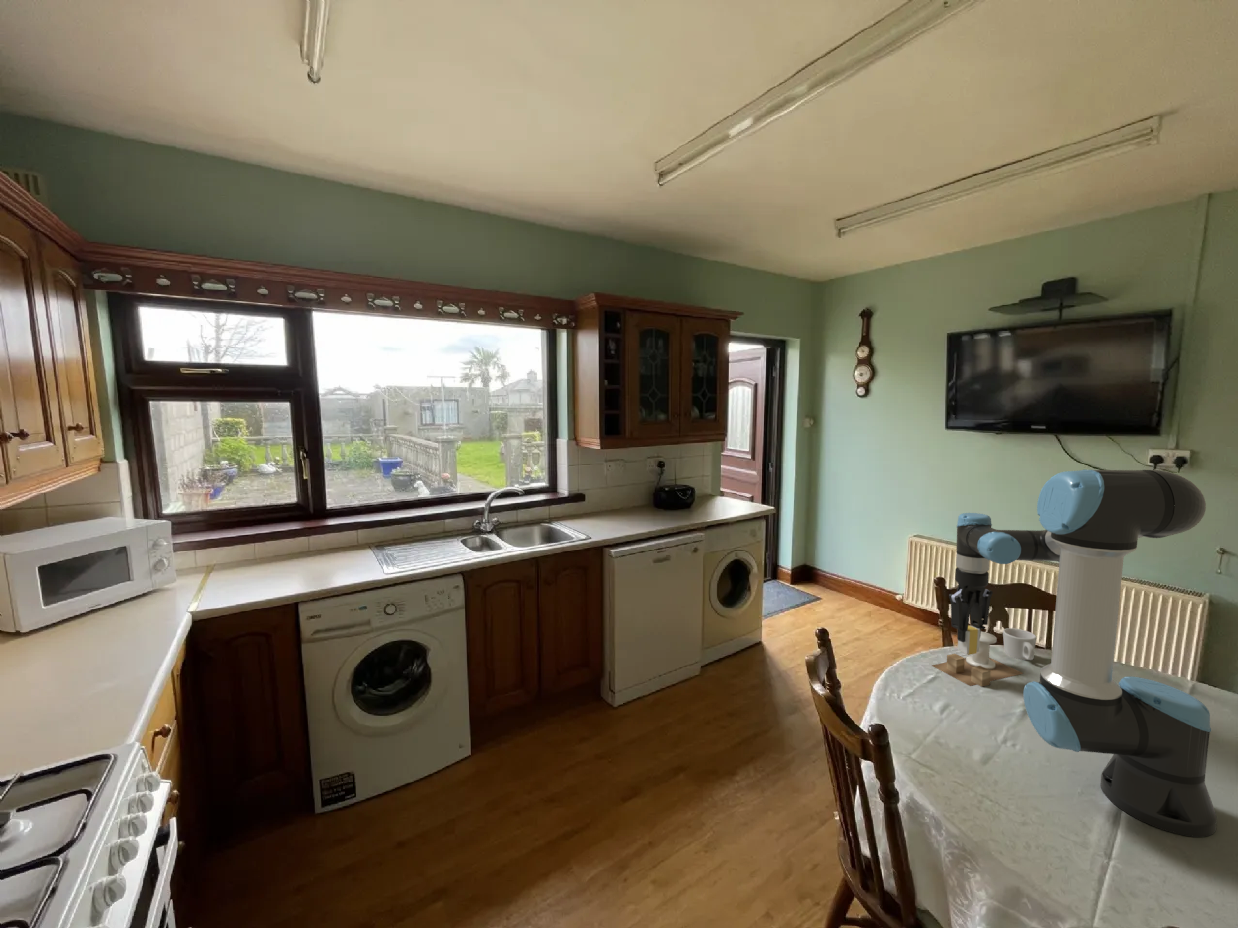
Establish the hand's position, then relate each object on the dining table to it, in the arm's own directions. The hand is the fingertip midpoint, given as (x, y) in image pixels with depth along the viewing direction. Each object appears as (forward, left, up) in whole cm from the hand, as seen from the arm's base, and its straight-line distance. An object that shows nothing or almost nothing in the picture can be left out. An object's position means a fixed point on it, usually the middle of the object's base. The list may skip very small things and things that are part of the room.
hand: (968, 650), depth 141 cm
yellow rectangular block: (0, 0, 0) cm, 1 cm away
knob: (+4, -10, -7) cm, 13 cm away
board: (+2, -6, -9) cm, 11 cm away
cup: (+3, -25, -9) cm, 27 cm away
